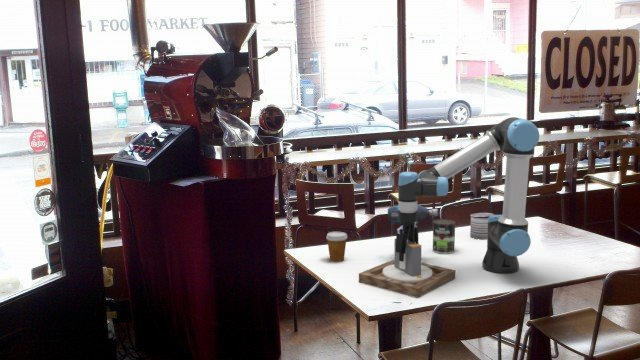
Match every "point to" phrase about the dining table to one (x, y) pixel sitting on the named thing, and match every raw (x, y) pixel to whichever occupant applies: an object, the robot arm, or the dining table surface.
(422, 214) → the impact wrench
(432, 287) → the dial base
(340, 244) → the disposable coffee cup
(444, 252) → the coffee can
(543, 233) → the dining table surface
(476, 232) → the can
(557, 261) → the dining table surface
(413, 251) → the dial
